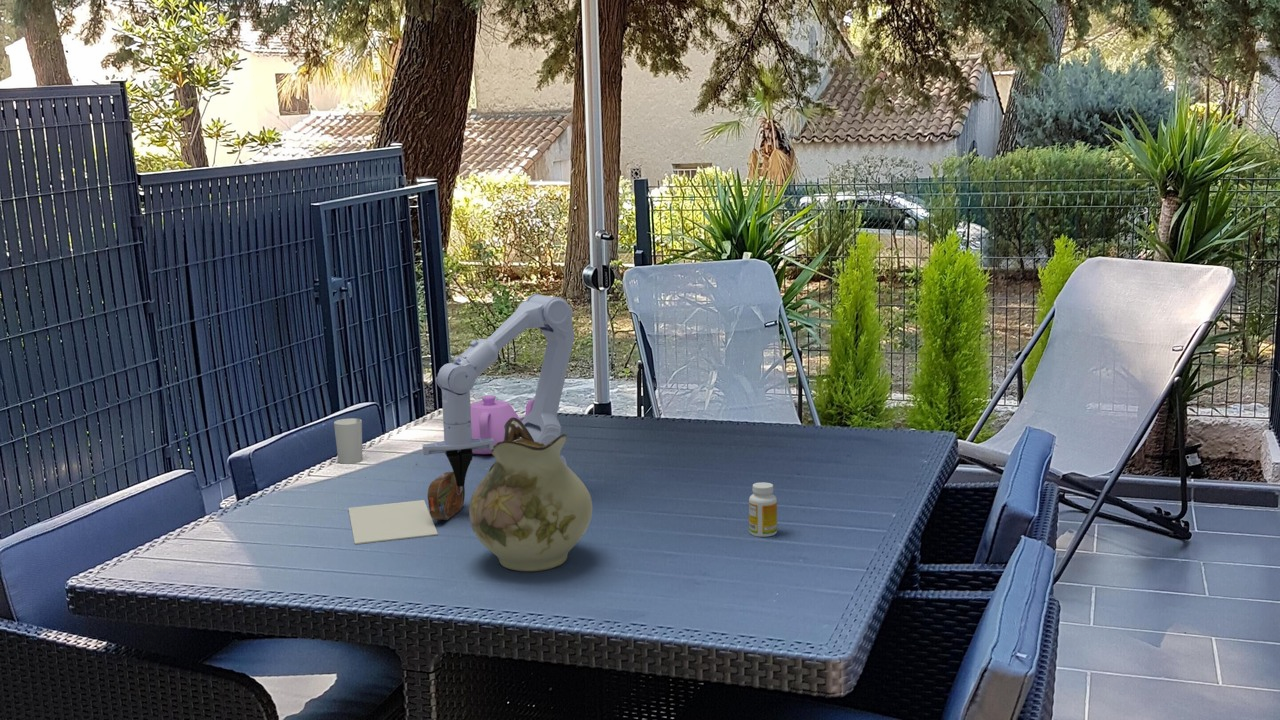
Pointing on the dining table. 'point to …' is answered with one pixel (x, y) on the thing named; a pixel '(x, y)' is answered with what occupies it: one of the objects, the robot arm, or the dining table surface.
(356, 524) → the mat
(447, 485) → the tin
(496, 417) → the teapot
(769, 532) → the supplement bottle
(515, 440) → the pitcher
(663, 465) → the dining table surface
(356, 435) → the drinking glass
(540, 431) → the robot arm
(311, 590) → the dining table surface
